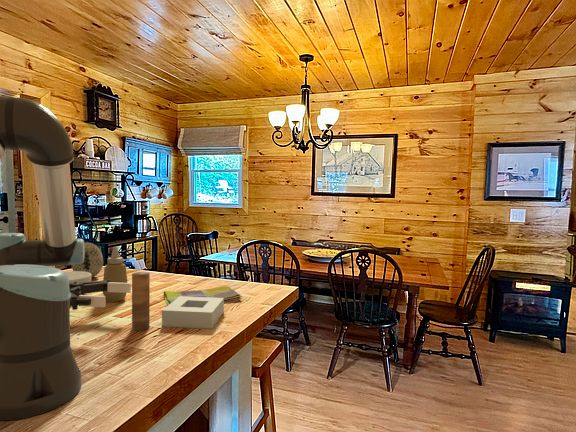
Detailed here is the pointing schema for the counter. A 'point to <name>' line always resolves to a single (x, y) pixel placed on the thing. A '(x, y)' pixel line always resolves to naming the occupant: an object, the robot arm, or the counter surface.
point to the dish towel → (205, 294)
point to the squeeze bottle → (115, 275)
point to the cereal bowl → (78, 276)
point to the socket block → (193, 312)
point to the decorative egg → (90, 260)
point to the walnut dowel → (140, 301)
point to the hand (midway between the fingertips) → (118, 294)
